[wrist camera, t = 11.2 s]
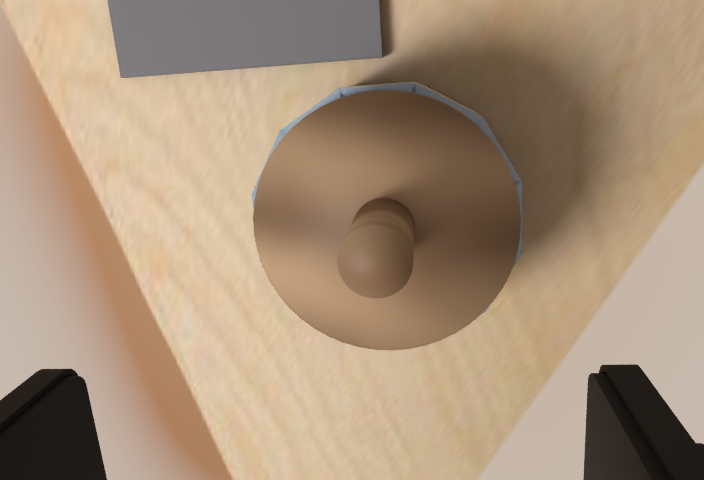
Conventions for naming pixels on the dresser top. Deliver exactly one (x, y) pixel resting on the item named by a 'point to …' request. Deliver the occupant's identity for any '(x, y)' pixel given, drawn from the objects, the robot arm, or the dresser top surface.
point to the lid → (387, 220)
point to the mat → (240, 34)
